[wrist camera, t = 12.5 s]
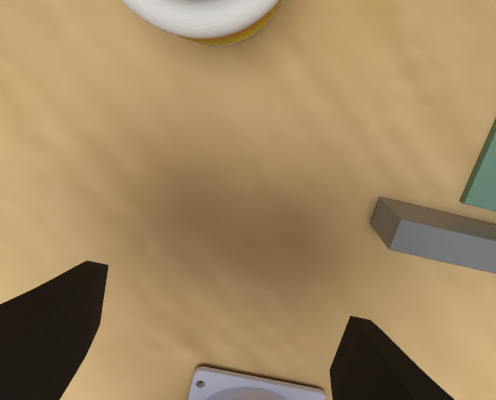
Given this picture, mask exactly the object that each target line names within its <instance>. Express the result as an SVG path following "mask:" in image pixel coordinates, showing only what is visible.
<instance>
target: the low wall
mask: <svg viewBox="0 0 496 400" xmlns="http://www.w3.org/2000/svg"><path fill="white" fill-rule="evenodd" d="M370 224H371V225H372V227H373V228H374V230H375V231H376V232H377V234H378V235H379V236H380V238H381V239H382V241H383V242H384V243H385V245H386V246H387V247H388V249H389V250H393V251H397V252H401V253H406V254H410V255H415V256H419V257H424V258H428V259H433V260H437V261H441V262H446V263H450V264H455V265H459V266H464V267H468V268H473V269H477V270H481V271H486V272H490V273H495V274H496V224H493V223H489V222H484V221H480V220H476V219H472V218H467V217H463V216H459V215H455V214H450V213H446V212H442V211H438V210H433V209H429V208H425V207H421V206H416V205H412V204H408V203H404V202H399V201H395V200H391V199H387V198H382V197H380V199H379V201H378V204H377V207H376V209H375V212H374V215H373V217H372V220H371V223H370Z"/></svg>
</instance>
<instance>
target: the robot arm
mask: <svg viewBox="0 0 496 400" xmlns="http://www.w3.org/2000/svg"><path fill="white" fill-rule="evenodd" d="M107 272H108V265H106V264H101V263H96V262H91V261H85V262H83V263H81V264H79V265H77V266H76V267H74V268H72V269H70V270H68V271H66V272H65V273H63V274H61V275H59V276H57V277H55V278H54V279H52V280H50V281H48V282H46V283H44V284H42V285H40V286H38V287H36V288H34V289H32V290H30V291H28V292H26V293H24V294H22V295H20V296H17V297H15V298H13V299H11V300H9V301H7V302H5V303H2V304H0V400H60V398H61V396H62V395H63V393H64V391H65V390H66V388H67V387H68V385H69V383H70V382H71V380H72V378H73V377H74V375H75V373H76V372H77V370H78V368H79V367H80V365H81V363H82V362H83V360H84V358H85V356H86V355H87V352H88V350H89V348H90V346H91V344H92V341H93V339H94V337H95V335H96V332H97V330H98V328H99V325H100V320H101V313H102V306H103V299H104V292H105V285H106V279H107ZM330 378H331V388H332V396H333V400H454V399H453V398H452V397H451V396H450V395H449V394H447V393H446V392H445V391H444V390H443V389H442V388H441V387H440V386H439V385H437V384H436V383H435V382H434V381H433V380H432V379H431V378H430V377H429V376H428V375H427V374H426V373H424V372H423V371H422V370H421V369H420V368H419V367H418V366H417V365H416V364H415V363H414V362H413V361H412V360H411V359H410V358H409V357H408V356H407V355H406V354H405V353H404V352H403V351H402V350H401V349H400V348H399V347H398V346H397V345H396V344H395V343H394V342H393V341H392V340H391V339H390V338H389V337H388V336H387V335H386V334H385V333H384V332H383V331H382V330H381V329H380V328H379V327H378V326H376V325H375V324H374V323H373V322H372V321H371V320H368V319H363V318H358V317H353V316H350V318H349V321H348V324H347V326H346V329H345V331H344V334H343V337H342V339H341V342H340V344H339V347H338V350H337V352H336V355H335V357H334V360H333V363H332V365H331V368H330ZM198 381H203V383H200V382H198ZM187 400H326V395H325V392H324V391H323V390H321V389H317V388H312V387H307V386H302V385H297V384H291V383H286V382H281V381H276V380H271V379H266V378H260V377H255V376H250V375H245V374H240V373H235V372H230V371H224V370H219V369H214V368H209V367H198V368H197V369H195V371H194V375H193V379H192V383H191V387H190V391H189V395H188V399H187Z"/></svg>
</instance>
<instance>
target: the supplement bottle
mask: <svg viewBox="0 0 496 400" xmlns="http://www.w3.org/2000/svg"><path fill="white" fill-rule="evenodd" d="M121 1H122V2H123V3H124V4H125V5H126V6H127V7H128V8H129V9H130V10H131V11H133V12H134V13H135V14H136V15H138V16H139V17H140V18H142V19H143V20H145V21H146V22H148V23H149V24H151V25H153V26H155V27H157V28H159V29H161V30H163V31H165V32H168V33H171V34H174V35H177V36H180V37H183V38H186V39H189V40H192V41H195V42H198V43H201V44H205V45H211V46H228V45H233V44H237V43H240V42H242V41H244V40H247V39H248V38H250V37H252V36H253V35H255V34H256V33H258V32H259V31H260V30H261V29H262V28H263V27H264V26H265V25H266V24H267V23H268V22H269V20H270V19H271V18H272V16H273V15H274V13H275V11H276V10H277V8H278V6H279V4H280V2H281V1H282V0H121Z"/></svg>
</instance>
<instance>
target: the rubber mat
mask: <svg viewBox="0 0 496 400" xmlns="http://www.w3.org/2000/svg"><path fill="white" fill-rule="evenodd" d="M460 201H461V202H462V203H464V204H468V205H472V206H476V207H480V208H484V209H489V210H493V211H496V120H495V123H494V125H493V127H492V130H491V132H490V134H489V136H488V139H487V141H486V143H485V145H484V148H483V150H482V152H481V155H480V157H479V159H478V161H477V164H476V166H475V168H474V170H473V173H472V175H471V177H470V179H469V182H468V184H467V186H466V189H465V191H464V193H463V195H462V198H461V200H460Z"/></svg>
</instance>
